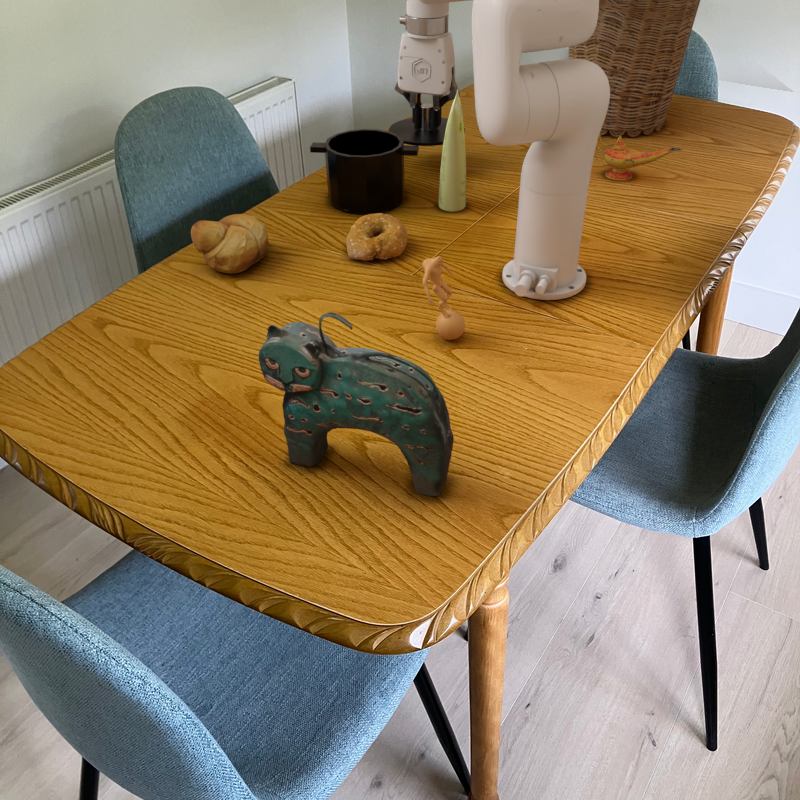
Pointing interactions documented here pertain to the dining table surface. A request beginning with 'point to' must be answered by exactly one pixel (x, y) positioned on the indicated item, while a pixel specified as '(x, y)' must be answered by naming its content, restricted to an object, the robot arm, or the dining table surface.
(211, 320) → the dining table surface
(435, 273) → the figurine
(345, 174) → the pot
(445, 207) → the tube
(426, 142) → the pot lid
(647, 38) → the wicker basket
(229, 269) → the bread roll
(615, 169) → the magic lamp
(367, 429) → the ceramic cat
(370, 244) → the bagel
